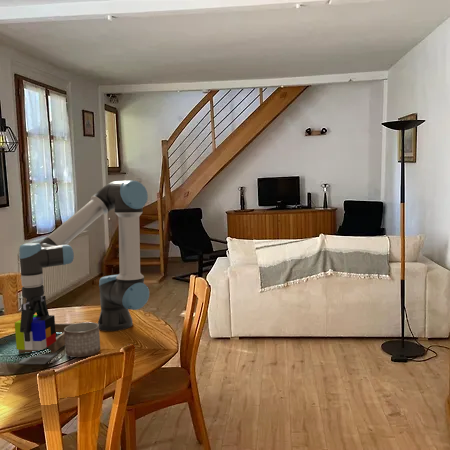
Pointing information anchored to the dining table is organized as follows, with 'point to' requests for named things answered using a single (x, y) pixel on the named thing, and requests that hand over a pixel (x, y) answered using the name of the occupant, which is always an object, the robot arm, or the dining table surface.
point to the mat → (38, 359)
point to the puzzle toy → (38, 332)
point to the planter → (82, 339)
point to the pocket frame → (59, 339)
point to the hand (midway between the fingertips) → (36, 344)
